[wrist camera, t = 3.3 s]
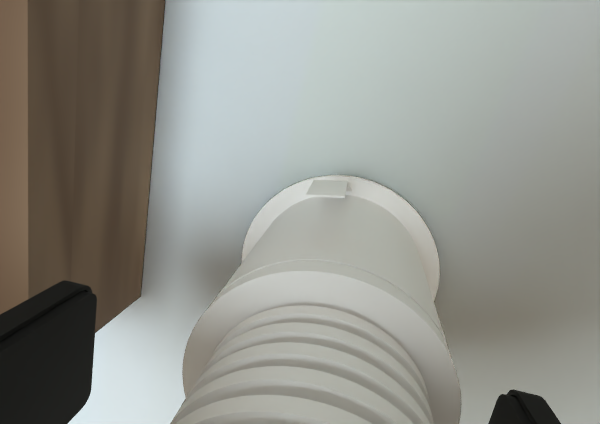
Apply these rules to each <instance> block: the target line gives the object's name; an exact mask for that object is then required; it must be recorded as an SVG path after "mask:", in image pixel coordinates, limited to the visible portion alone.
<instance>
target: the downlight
mask: <svg viewBox="0 0 600 424" xmlns="http://www.w3.org/2000/svg"><path fill="white" fill-rule="evenodd" d="M439 277H440V266H439V257H438V252H437V248H436V245H435V242H434V239H433V237H432V235H431V232H430V230H429V229H428V227H427V225H426V223H425V222H424V220H423V219H422V217H421V216H420V215H419V214H418V212H417V211H416V210H415V209H414V208H413V207H412V206H411V205H410V204H409V203H408V202H407V201H406V200H405V199H403V198H402V197H401V196H399V195H398V194H397V193H395V192H393V191H392V190H390V189H389V188H387V187H385V186H383V185H381V184H378V183H376V182H373V181H370V180H367V179H363V178H359V177H354V176H346V175H326V176H318V177H314V178H309V179H306V180H303V181H300V182H298V183H295V184H293V185H291V186H289V187H287V188H285V189H284V190H282V191H281V192H279V193H278V194H276V195H275V196H274V197H273V198H272V199H270V200H269V201H268V202H267V203H266V204H265V205H264V206H263V208H262V209H261V210H260V211H259V212H258V214H257V215H256V216H255V218H254V220H253V221H252V223H251V225H250V227H249V229H248V232H247V234H246V237H245V240H244V244H243V249H242V264H241V265H240V266H239V268H238V269H237V270H236V272H235V273H234V274H233V276H232V277H231V278H230V280H229V281H228V282H227V283H226V285H225V286H224V287H223V289H222V290H221V291H220V293H219V294H218V295H217V297H216V298H215V299H214V301H213V302H212V303H211V305H210V306H209V307H208V309H207V310H206V311H205V312H204V314H203V315H202V316H201V318H200V319H199V320H198V322H197V324H196V325H195V327H194V329H193V330H192V333H191V335H190V337H189V340H188V343H187V346H186V349H185V354H184V359H183V386H184V392H185V396H186V399H185V400H184V402H183V404H182V406H181V408H180V409H179V411H178V412H177V414H176V415H175V417H174V419H173V420H172V422H171V424H459V420H460V415H461V391H460V386H459V380H458V376H457V373H456V370H455V367H454V364H453V361H452V358H451V355H450V352H449V348H448V345H447V342H446V339H445V336H444V333H443V329H442V326H441V323H440V320H439V317H438V314H437V310H436V307H435V304H434V300H435V298H436V294H437V290H438V285H439Z"/></svg>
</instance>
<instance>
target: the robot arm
mask: <svg viewBox="0 0 600 424" xmlns="http://www.w3.org/2000/svg"><path fill="white" fill-rule="evenodd" d="M96 308H97V297H96V295H95V294H93V293H92V290H91V287H89V286H87V285H83V284H79V283H75V282H71V281H66V280H64V281H61V282H59V283H57V284H55V285H53V286H51V287H50V288H48V289H46V290H44V291H42V292H40V293H39V294H37V295H35V296H33V297H31V298H29V299H28V300H26V301H24V302H22V303H20V304H18V305H17V306H15V307H13V308H11V309H9V310H7V311H6V312H4V313H2V314H0V424H67V423H68V422H69V421H70V420H71V419H72V418H73V417H74V416H75V415H76V414H77V413H78V412H79V411H80V410H81V409H82V408H83V406H84V405H85V404H86V402H87V400H88V398H89V396H90V392H91V383H92V368H93V353H94V338H95V323H96ZM489 424H561V423H560V421H559V420H558V418H557V417H556V416H555V414H554V413H553V411H552V410H551V408H550V407H549V405H548V404H547V402H546V401H545V400H544V399H543V398H542V397H540V396H538V395H533V394H529V393H525V392H521V391H517V390H510V391H509V392H508V393H507V395H504V394H502V395H500V396H499V397H498V399H497V402H496V405H495V407H494V410H493V413H492V416H491V418H490V421H489Z"/></svg>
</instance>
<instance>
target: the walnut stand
mask: <svg viewBox="0 0 600 424" xmlns="http://www.w3.org/2000/svg"><path fill="white" fill-rule="evenodd" d="M164 7H165V0H0V314H2V313H4V312H6V311H7V310H9V309H11V308H13V307H15V306H17V305H18V304H20V303H22V302H24V301H26V300H28V299H29V298H31V297H33V296H35V295H37V294H39V293H40V292H42V291H44V290H46V289H48V288H50V287H51V286H53V285H55V284H57V283H59V282H61V281H64V280H66V281H71V282H75V283H79V284H83V285H87V286H89V287H91V290H92V293H93V294H95V295H96V297H97V308H96V323H95V333H96V332H97V331H98V330H100V329H101V328H102V327H103V326H105V325H106V324H107V323H108V322H110V321H111V320H112V319H113V318H114V317H116V316H117V315H118V314H119V313H121V312H122V311H123V310H124V309H126V308H127V307H128V306H129V305H131V304H132V303H133V302H134V301H136V300H137V299H138V298H139V297H141V285H142V273H143V260H144V248H145V236H146V224H147V212H148V200H149V188H150V176H151V164H152V152H153V140H154V128H155V116H156V104H157V92H158V80H159V67H160V55H161V43H162V31H163V19H164Z"/></svg>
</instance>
